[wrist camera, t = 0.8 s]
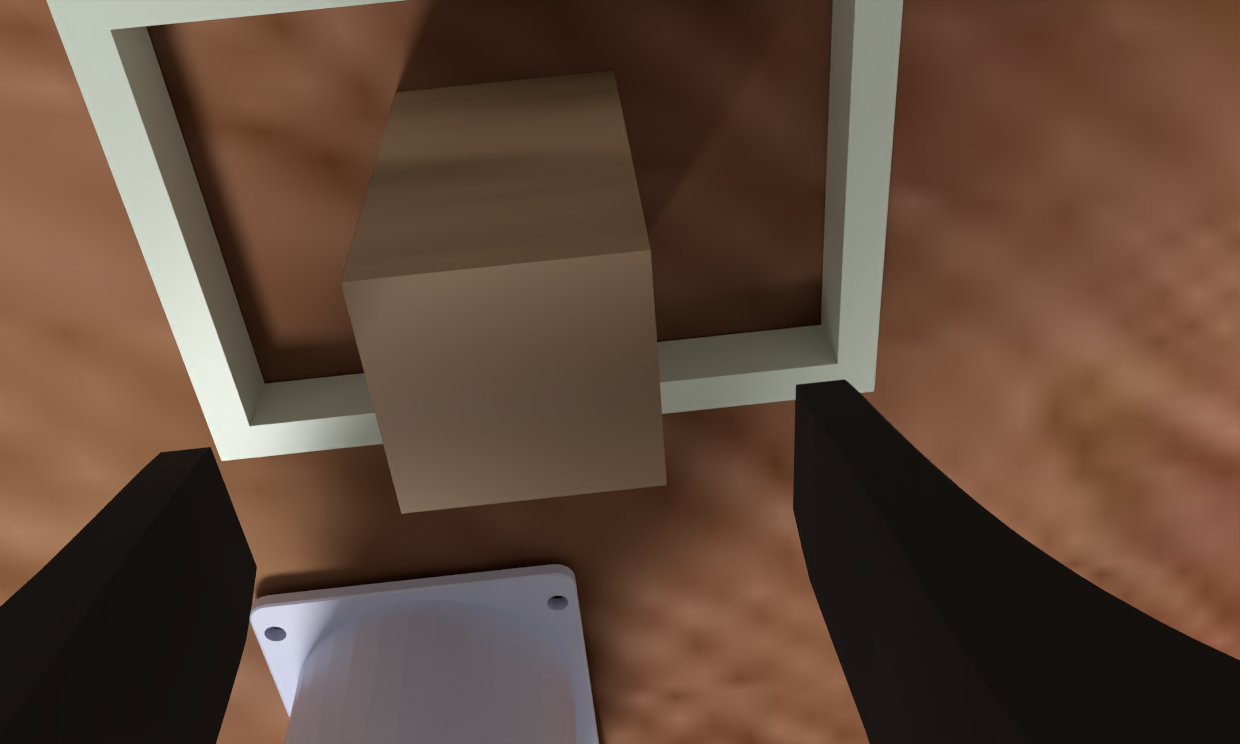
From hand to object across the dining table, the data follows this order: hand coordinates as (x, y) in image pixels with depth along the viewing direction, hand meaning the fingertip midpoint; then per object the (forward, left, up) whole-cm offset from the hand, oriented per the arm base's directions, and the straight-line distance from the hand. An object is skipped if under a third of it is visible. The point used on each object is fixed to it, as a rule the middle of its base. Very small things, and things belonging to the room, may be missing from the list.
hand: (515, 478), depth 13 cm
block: (0, 0, -9) cm, 9 cm away
